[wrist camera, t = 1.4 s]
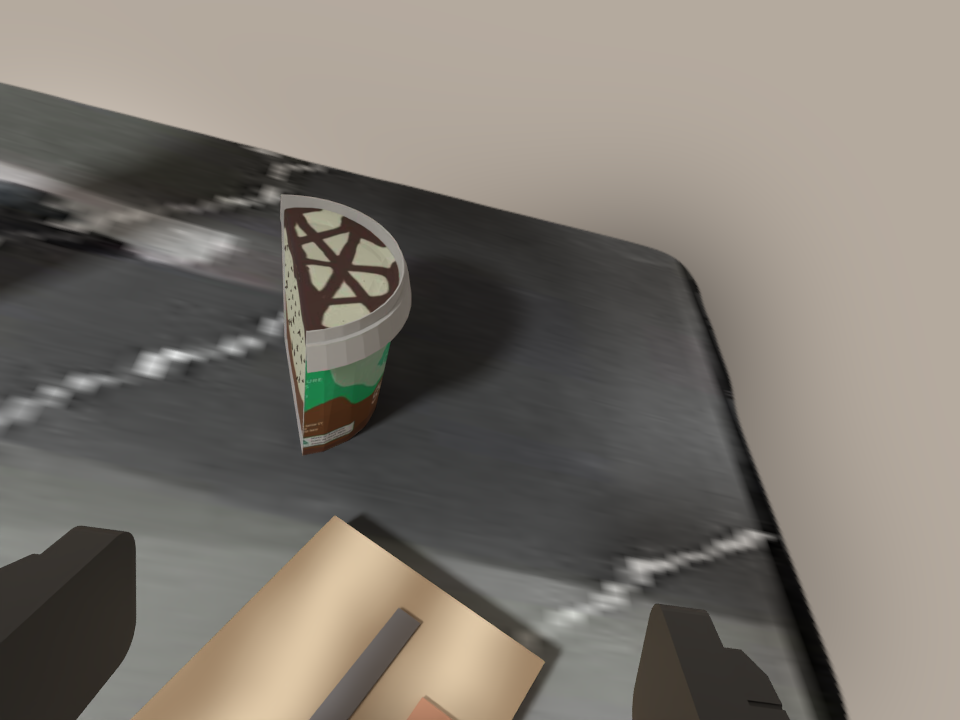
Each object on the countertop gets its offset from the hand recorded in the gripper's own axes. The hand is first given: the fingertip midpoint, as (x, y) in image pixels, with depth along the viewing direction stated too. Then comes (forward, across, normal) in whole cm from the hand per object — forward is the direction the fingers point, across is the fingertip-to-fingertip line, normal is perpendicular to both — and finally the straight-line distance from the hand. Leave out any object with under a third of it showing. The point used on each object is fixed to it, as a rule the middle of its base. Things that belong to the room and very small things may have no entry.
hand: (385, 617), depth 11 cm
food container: (+31, +7, +7) cm, 33 cm away
